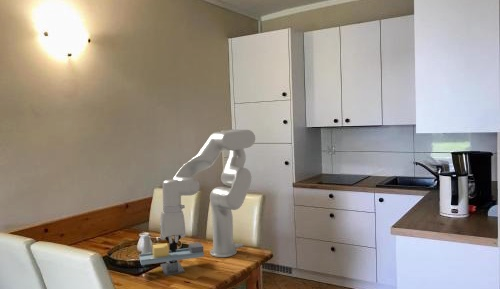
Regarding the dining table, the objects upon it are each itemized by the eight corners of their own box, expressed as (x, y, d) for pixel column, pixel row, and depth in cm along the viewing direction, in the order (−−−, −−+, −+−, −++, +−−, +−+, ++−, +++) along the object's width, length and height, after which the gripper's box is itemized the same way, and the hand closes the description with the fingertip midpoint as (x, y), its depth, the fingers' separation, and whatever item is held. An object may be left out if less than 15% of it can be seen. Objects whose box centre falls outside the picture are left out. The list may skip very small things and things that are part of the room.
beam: (199, 251, 174) (199, 241, 173) (204, 258, 165) (204, 247, 165) (139, 259, 164) (139, 248, 164) (141, 266, 156) (141, 255, 155)
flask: (151, 261, 175) (150, 239, 175) (136, 260, 177) (135, 238, 176) (158, 255, 182) (157, 234, 182) (144, 254, 184) (143, 234, 183)
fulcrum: (178, 263, 172) (178, 253, 172) (184, 272, 161) (184, 262, 160) (160, 265, 169) (160, 256, 169) (165, 275, 158) (164, 265, 158)
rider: (166, 253, 166) (166, 243, 166) (168, 257, 162) (168, 246, 161) (152, 255, 164) (152, 244, 164) (154, 259, 159) (154, 248, 159)
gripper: (187, 205, 170) (188, 246, 171) (153, 208, 164) (154, 251, 165) (191, 208, 163) (192, 251, 164) (155, 212, 157) (156, 256, 158)
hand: (173, 251), depth 165 cm, fingers closed
